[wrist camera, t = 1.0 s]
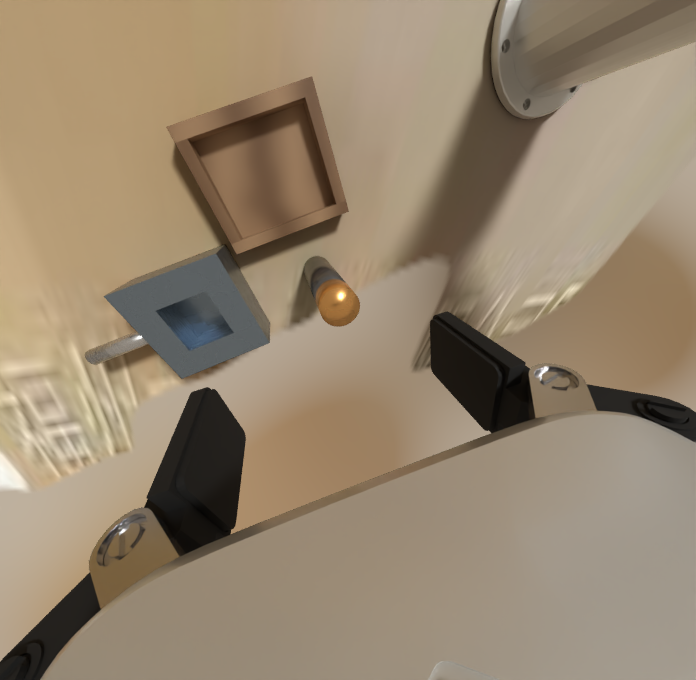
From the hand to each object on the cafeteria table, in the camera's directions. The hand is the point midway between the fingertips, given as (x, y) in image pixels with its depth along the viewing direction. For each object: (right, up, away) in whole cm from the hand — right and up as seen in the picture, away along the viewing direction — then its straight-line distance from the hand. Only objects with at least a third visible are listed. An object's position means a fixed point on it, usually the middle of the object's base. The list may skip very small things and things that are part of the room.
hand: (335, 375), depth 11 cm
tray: (-7, +17, +13) cm, 23 cm away
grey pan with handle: (-18, +4, +17) cm, 26 cm away
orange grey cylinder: (-3, +10, +19) cm, 21 cm away
